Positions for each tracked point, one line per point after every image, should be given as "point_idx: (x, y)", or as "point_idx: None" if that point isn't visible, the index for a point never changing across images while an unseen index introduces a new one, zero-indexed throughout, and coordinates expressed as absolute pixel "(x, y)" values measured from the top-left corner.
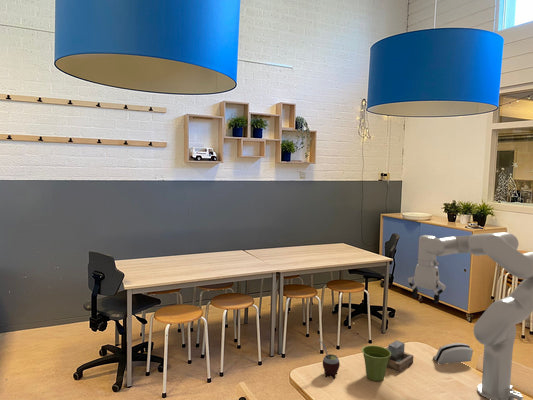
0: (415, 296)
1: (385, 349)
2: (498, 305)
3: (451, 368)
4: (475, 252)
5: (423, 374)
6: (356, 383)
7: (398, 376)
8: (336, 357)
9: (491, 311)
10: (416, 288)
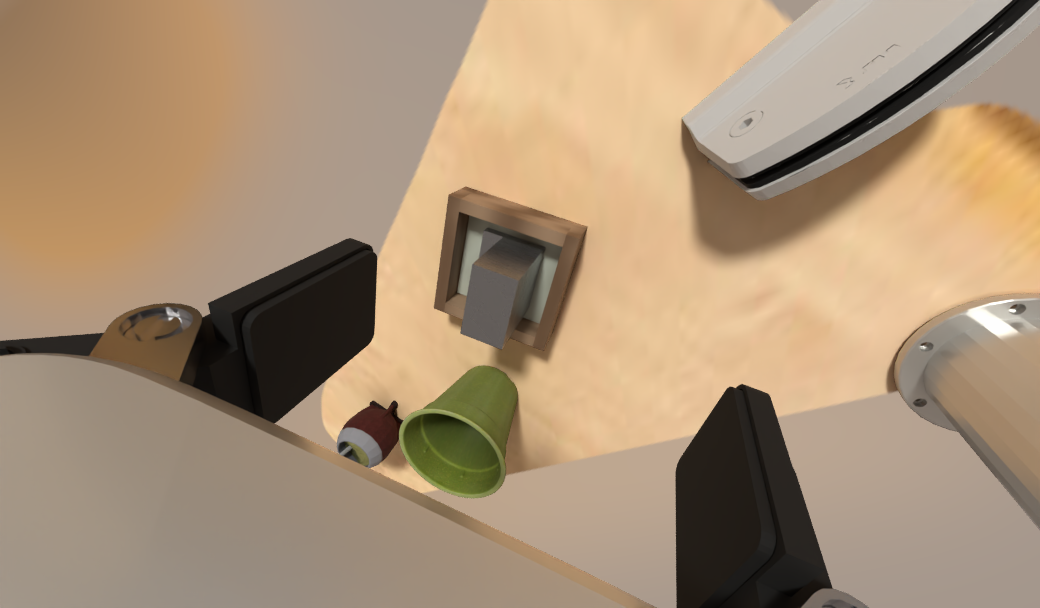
0: (360, 323)
1: (470, 424)
2: None
3: None
4: None
5: (643, 310)
6: None
7: (555, 359)
8: (364, 447)
9: None
10: (227, 365)
